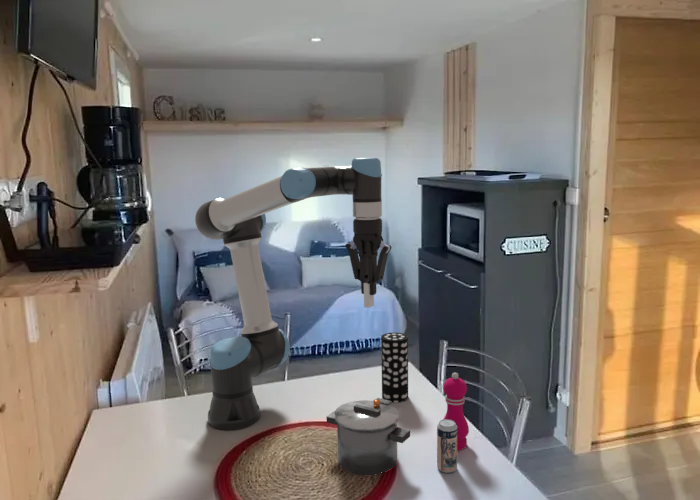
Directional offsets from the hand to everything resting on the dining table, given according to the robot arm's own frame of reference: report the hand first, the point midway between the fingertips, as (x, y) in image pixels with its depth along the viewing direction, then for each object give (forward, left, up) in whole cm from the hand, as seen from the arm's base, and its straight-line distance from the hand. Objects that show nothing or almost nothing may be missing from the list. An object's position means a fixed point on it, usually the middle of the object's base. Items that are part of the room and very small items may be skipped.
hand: (369, 306), depth 153 cm
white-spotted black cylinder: (-6, +25, -37) cm, 45 cm away
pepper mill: (+22, +6, -37) cm, 43 cm away
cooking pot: (+6, -12, -36) cm, 39 cm away
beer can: (+25, -6, -37) cm, 45 cm away
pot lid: (+6, -12, -25) cm, 28 cm away
